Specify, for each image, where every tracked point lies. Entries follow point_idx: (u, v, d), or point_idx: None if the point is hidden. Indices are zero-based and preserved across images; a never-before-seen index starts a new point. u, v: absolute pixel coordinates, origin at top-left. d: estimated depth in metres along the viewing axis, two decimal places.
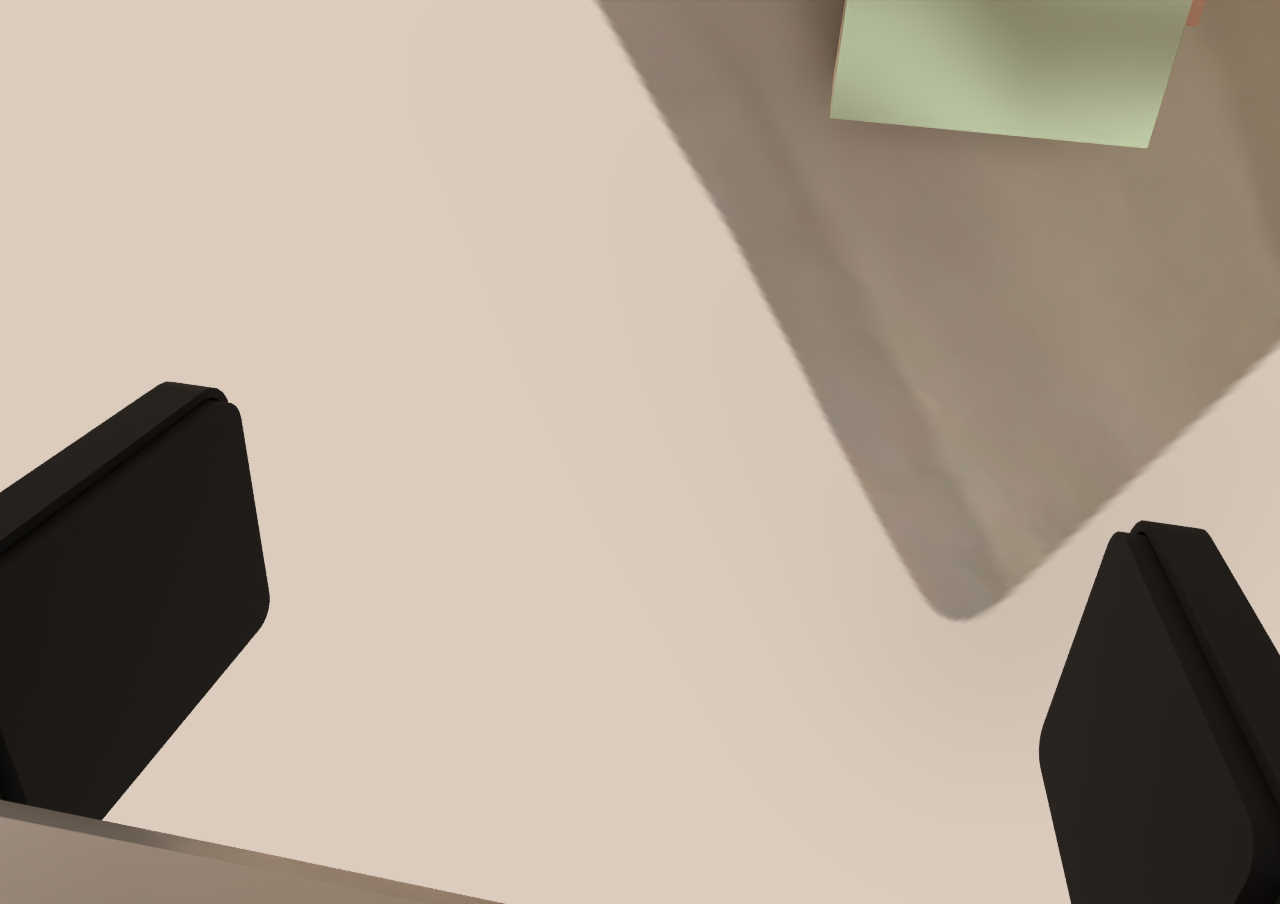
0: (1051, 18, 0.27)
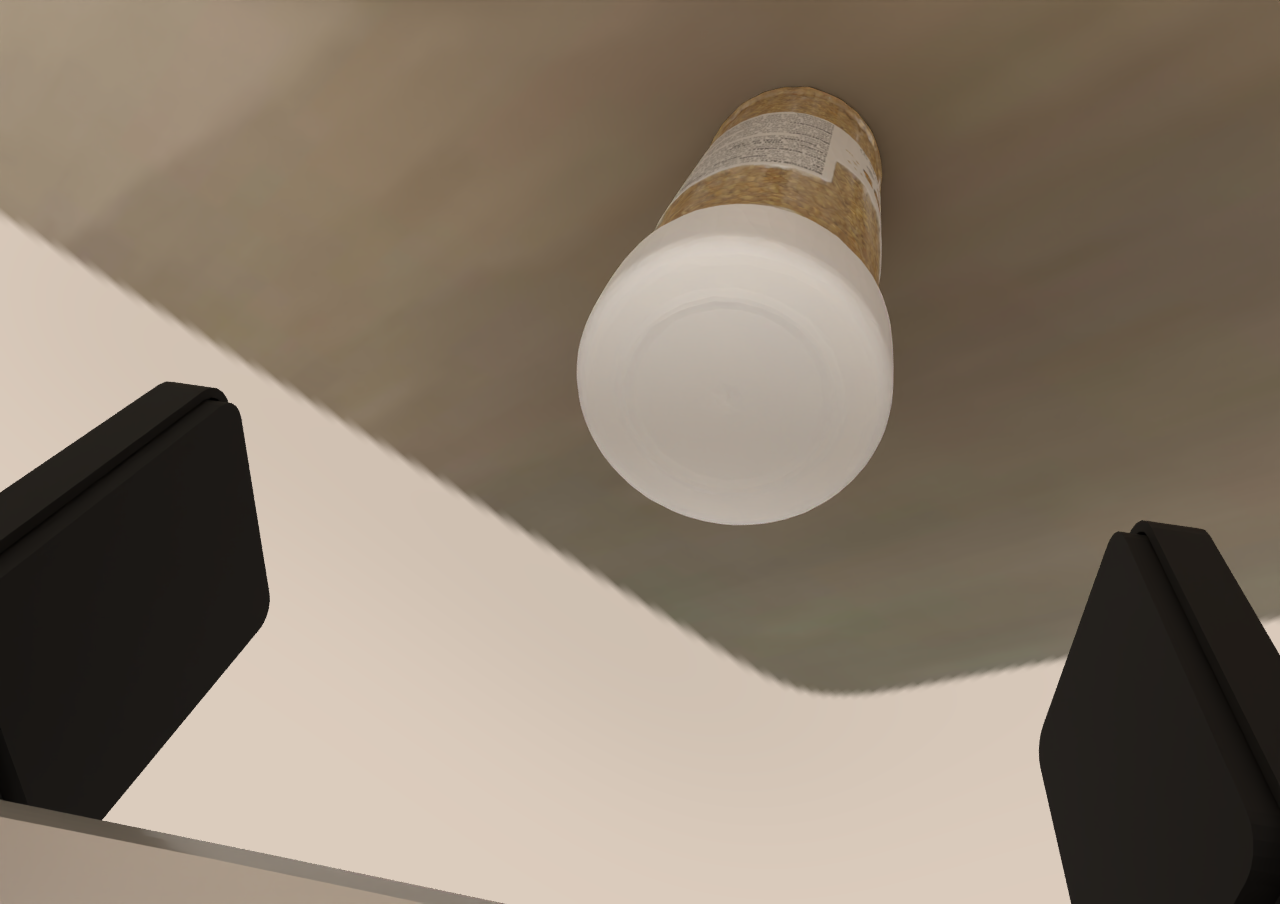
0: None
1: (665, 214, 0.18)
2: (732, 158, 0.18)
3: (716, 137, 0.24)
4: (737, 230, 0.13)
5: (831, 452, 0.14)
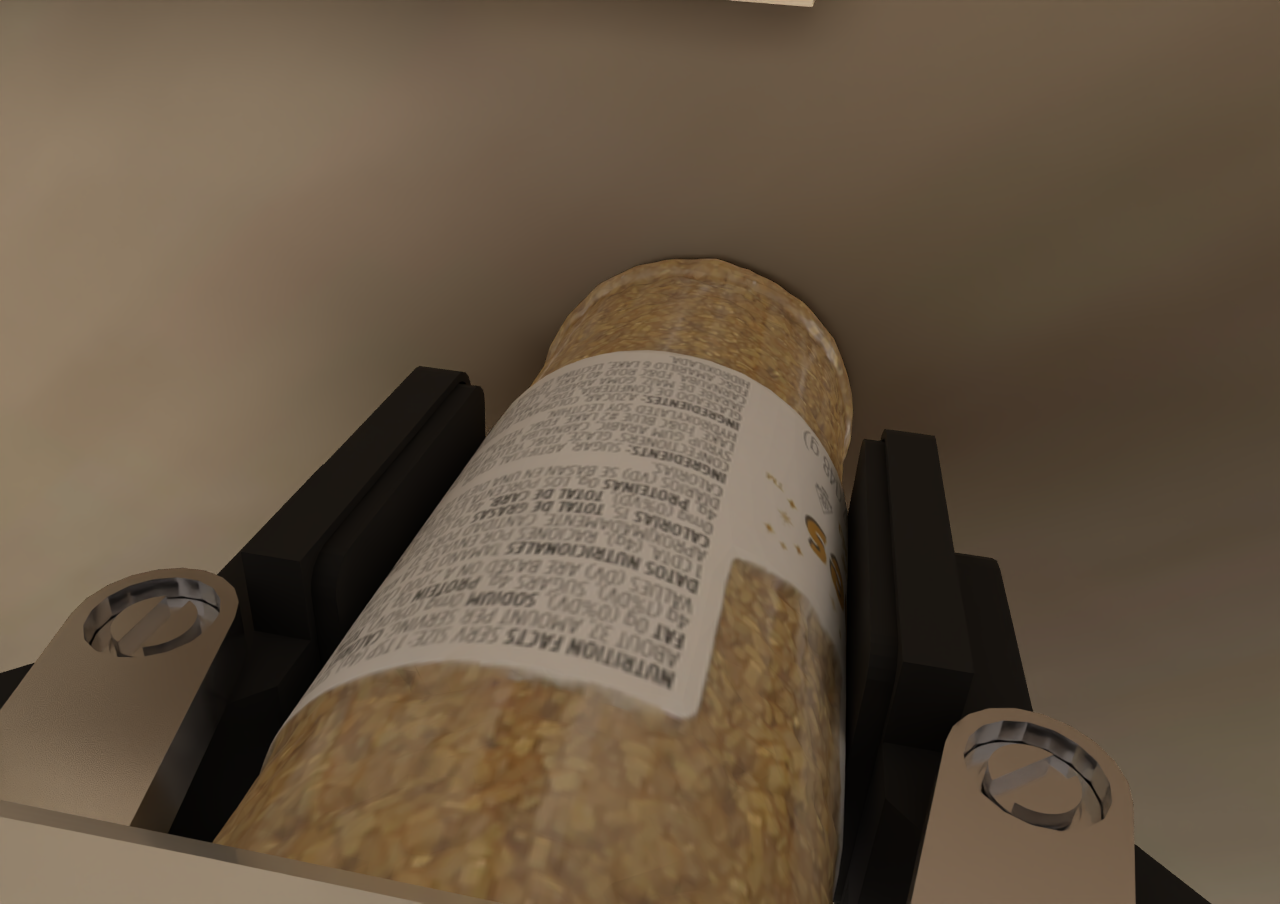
0: None
1: (275, 744, 0.07)
2: (456, 588, 0.07)
3: (556, 341, 0.14)
4: None
5: None
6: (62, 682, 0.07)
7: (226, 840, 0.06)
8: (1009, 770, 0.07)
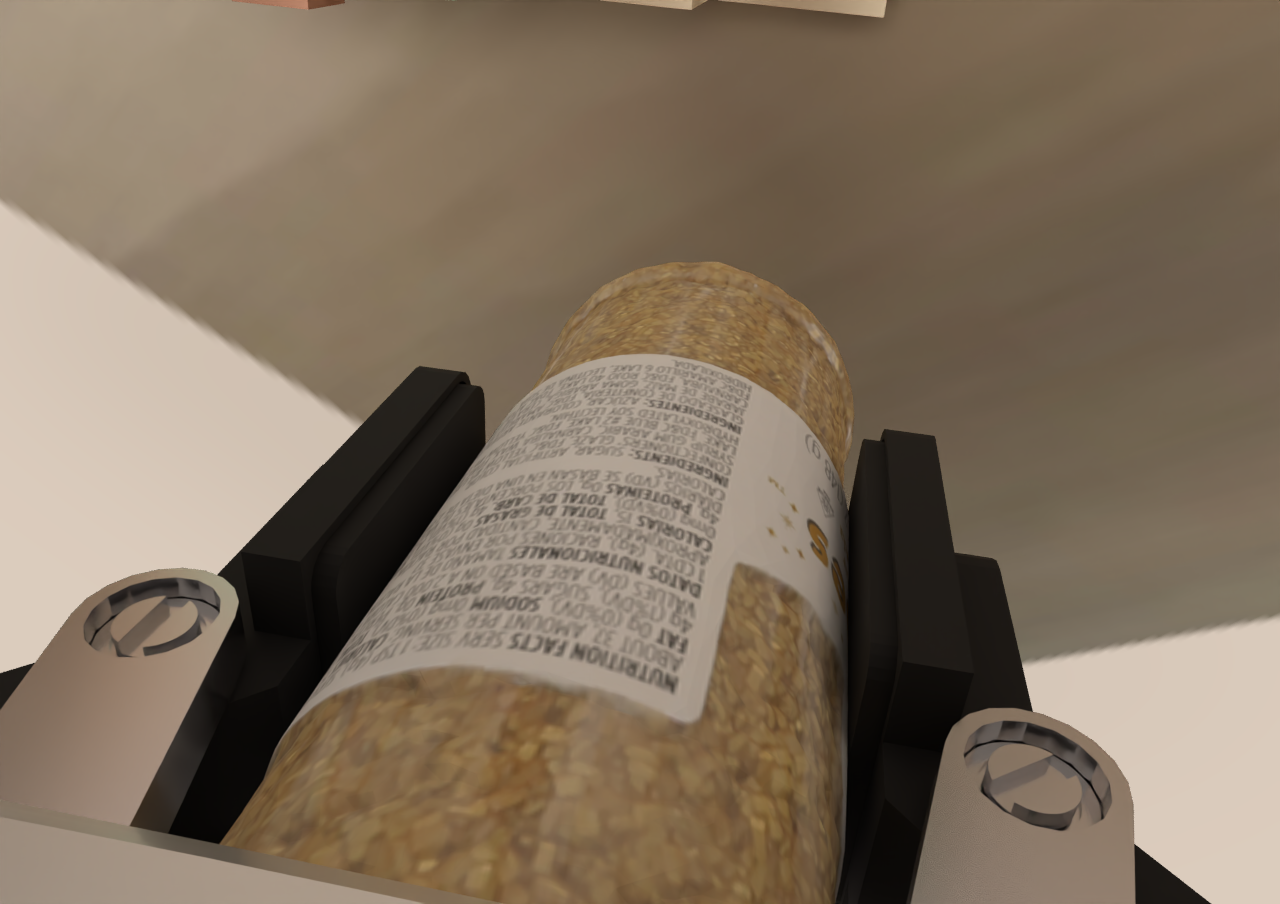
0: None
1: (280, 748, 0.07)
2: (459, 592, 0.07)
3: (557, 344, 0.14)
4: None
5: None
6: (62, 682, 0.07)
7: (232, 844, 0.06)
8: (1009, 770, 0.07)
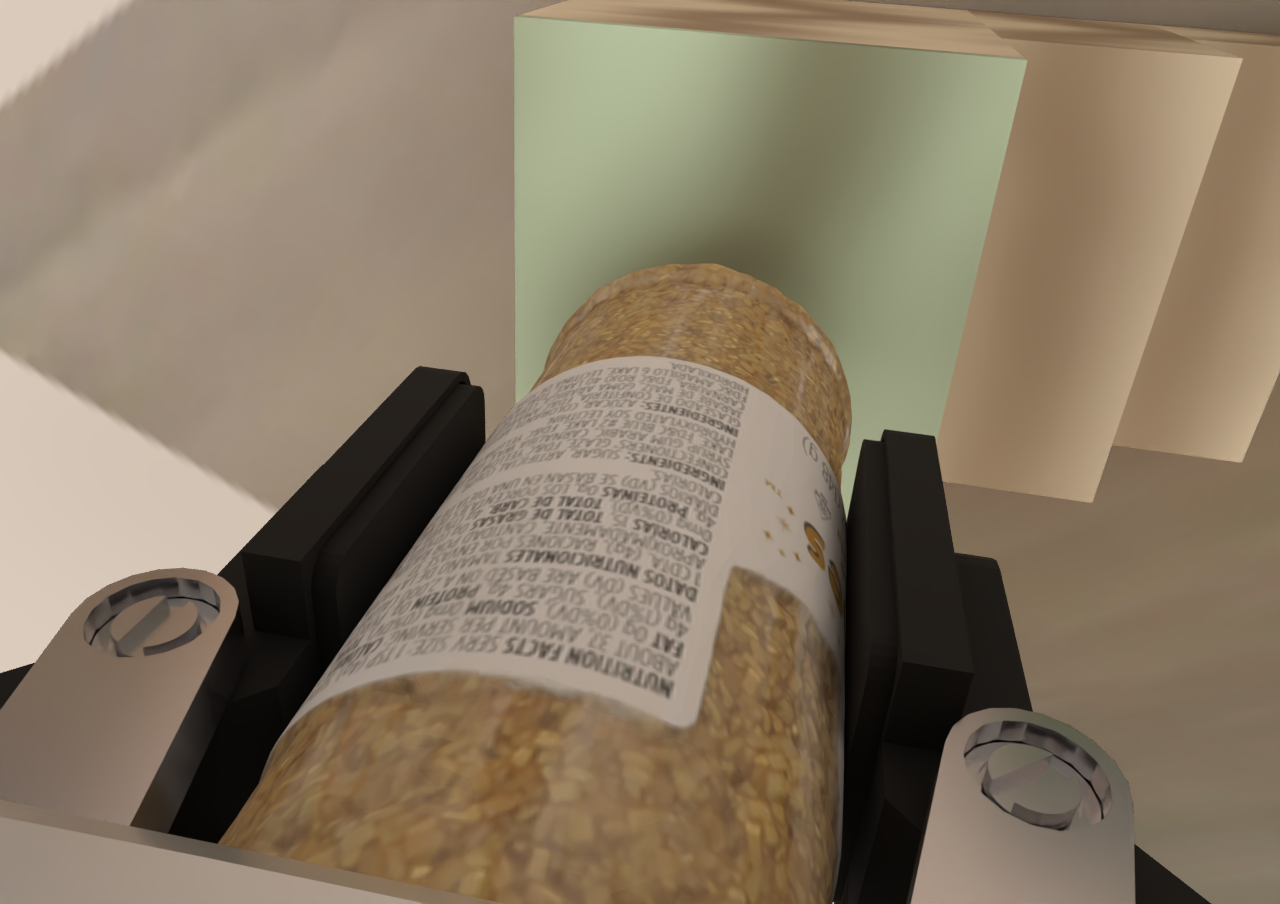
0: None
1: (275, 753, 0.07)
2: (455, 596, 0.07)
3: (555, 346, 0.14)
4: None
5: None
6: (62, 682, 0.07)
7: None
8: (1009, 770, 0.07)
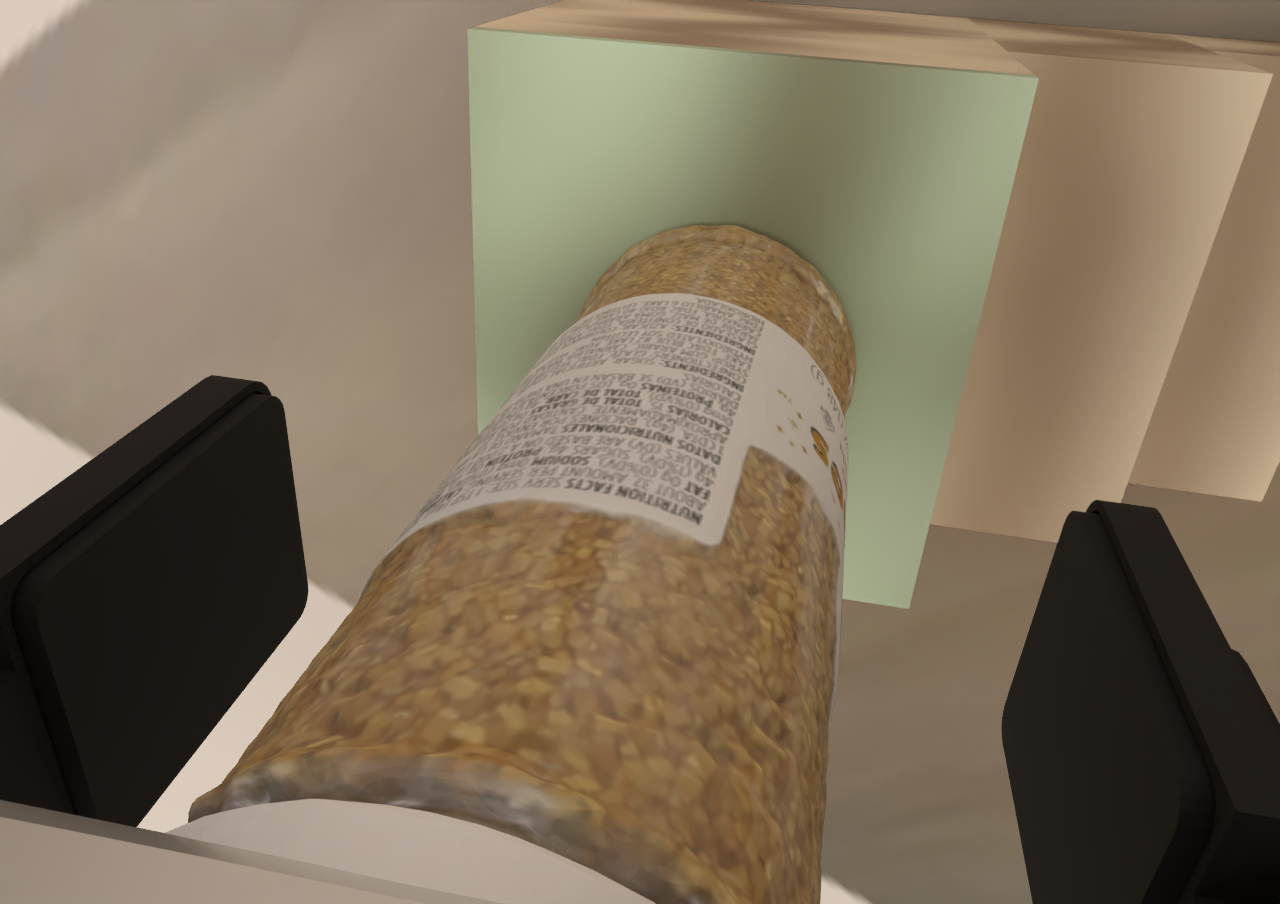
0: None
1: (372, 578, 0.08)
2: (521, 455, 0.08)
3: (589, 299, 0.15)
4: None
5: None
6: None
7: (346, 627, 0.07)
8: None
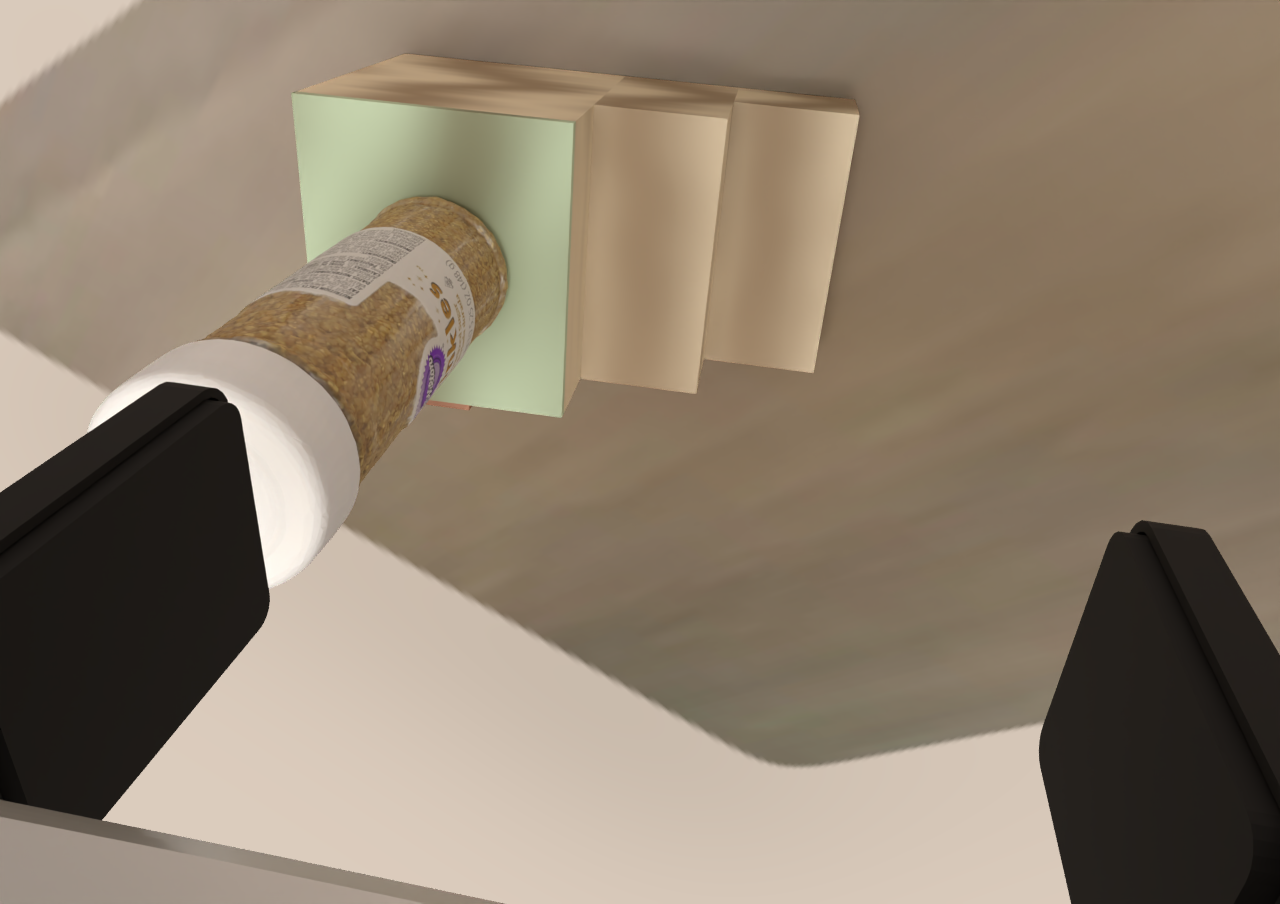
0: None
1: None
2: (289, 281, 0.21)
3: None
4: (187, 367, 0.17)
5: (285, 537, 0.17)
6: None
7: None
8: None
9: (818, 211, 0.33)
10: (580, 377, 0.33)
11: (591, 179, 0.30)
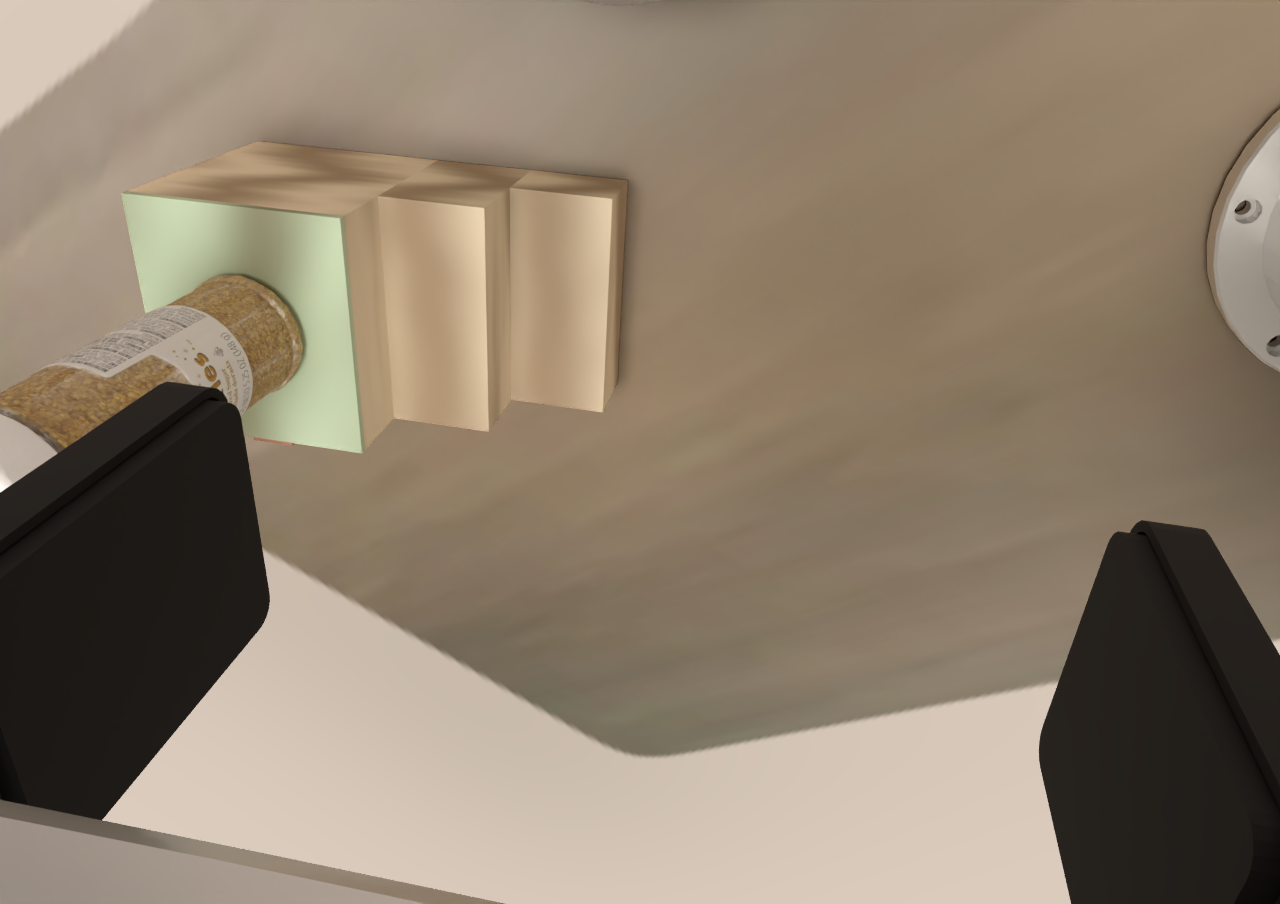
0: None
1: None
2: (68, 355, 0.28)
3: None
4: None
5: None
6: None
7: None
8: None
9: (589, 277, 0.38)
10: (393, 417, 0.39)
11: (382, 255, 0.36)
